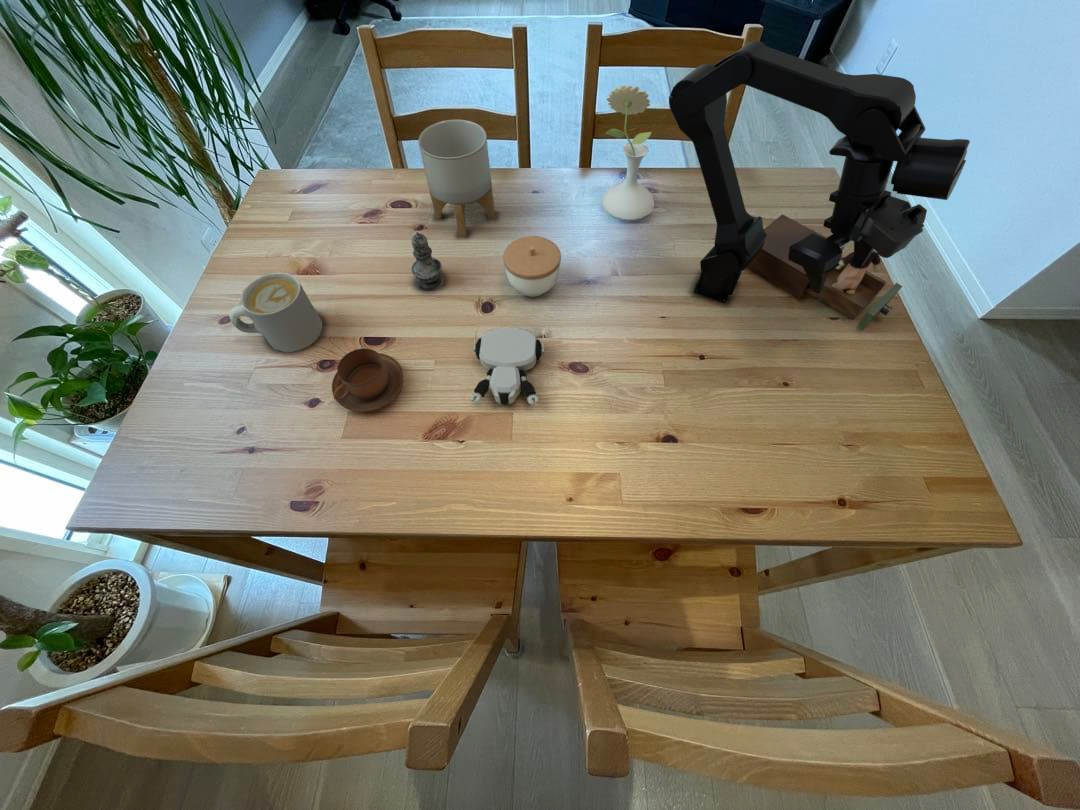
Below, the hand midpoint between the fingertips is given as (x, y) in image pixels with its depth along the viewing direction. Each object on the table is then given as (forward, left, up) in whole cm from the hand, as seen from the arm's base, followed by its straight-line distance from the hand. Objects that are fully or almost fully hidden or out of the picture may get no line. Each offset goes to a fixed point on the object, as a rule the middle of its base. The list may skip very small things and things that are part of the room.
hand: (837, 279), depth 82 cm
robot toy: (-44, -32, -13) cm, 56 cm away
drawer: (+6, +11, -12) cm, 18 cm away
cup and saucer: (-64, -45, -13) cm, 79 cm away
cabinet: (-7, +16, -13) cm, 22 cm away
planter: (-73, +1, -13) cm, 74 cm away
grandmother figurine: (+4, +12, -11) cm, 17 cm away
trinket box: (-50, -11, -13) cm, 53 cm away
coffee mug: (-86, -42, -13) cm, 97 cm away
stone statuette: (-69, -19, -13) cm, 73 cm away
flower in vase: (-43, +19, -13) cm, 49 cm away
